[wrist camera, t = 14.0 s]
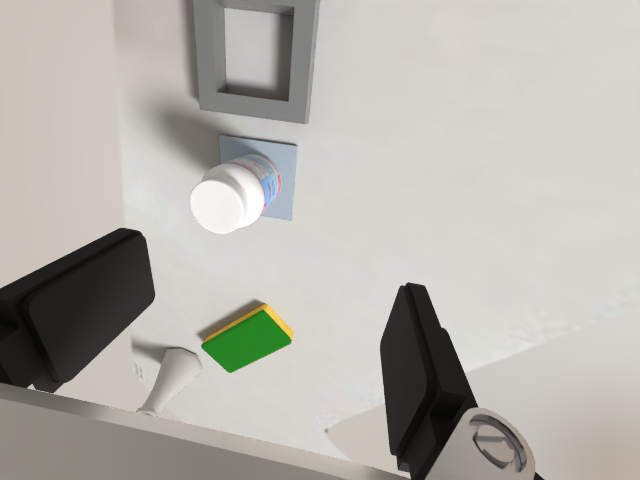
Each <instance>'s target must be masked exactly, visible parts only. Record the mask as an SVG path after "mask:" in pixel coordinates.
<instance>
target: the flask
mask: <svg viewBox="0 0 640 480" xmlns="http://www.w3.org/2000/svg"><path fill="white" fill-rule="evenodd" d="M201 369H202V365H201V363H200V361H199V358H198V356H197V355H195V354H193V353H191V352H189V351H186V350H184V349H167V351H166V353H165V356H164V359H163V361H162V364H161V367H160V371H159V374H158V377H157V379H156V382H155V385H154V388H153V390H152V391H151V393H150V396H149V397H148V399H147V401H146V402H145V404H144V405H143V406H142V407H141V408H139V409H138V410H137V411H136V413H141V414H146V415H150V416H154V417H158V414H159V413H160V411H161V410H162V408H163V407H164V406H165V405H166V404H167V403H168V402H169V400H170V399H172V398H173V397H174V396H175V395H176V394H177V393H178V392H180V391H181V390H182V389H183V388H184V387H186V386H187V385H188V384H189V383H190V382H192V381H193V380H194V379H195V378H196V377H198V375H199V373H200V371H201Z"/></svg>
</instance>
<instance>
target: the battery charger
mask: <svg viewBox="0 0 640 480" xmlns="http://www.w3.org/2000/svg"><path fill="white" fill-rule="evenodd" d="M319 4H320V0H193V13H194V28H195V43H196V59H197V74H198V89H199V104H200V110H206V111H213V112H221V113H228V114H235V115H243V116H250V117H257V118H265V119H272V120H279V121H287V122H294V123H302V124H307V123H308V122H309V111H310V101H311V90H312V79H313V68H314V58H315V47H316V36H317V26H318V15H319ZM224 8H233V9H241V10H250V11H258V12H266V13H275V14H283V15H292V16H294V24H293V40H292V56H291V72H290V88H289V102H286V101H279V100H271V99H264V98H256V97H249V96H241V95H234V94H226V58H225V21H224Z"/></svg>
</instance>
